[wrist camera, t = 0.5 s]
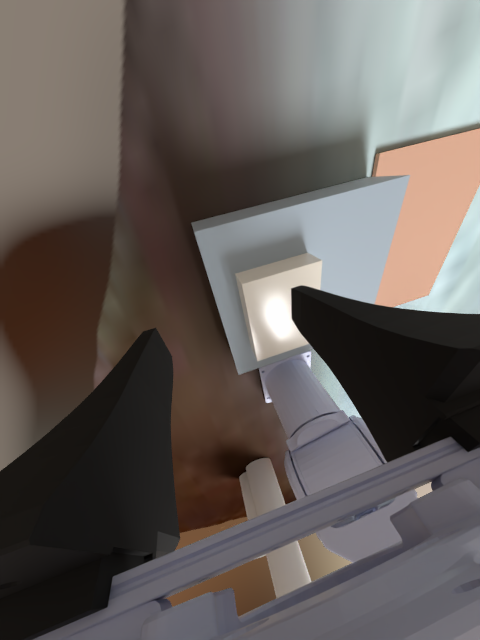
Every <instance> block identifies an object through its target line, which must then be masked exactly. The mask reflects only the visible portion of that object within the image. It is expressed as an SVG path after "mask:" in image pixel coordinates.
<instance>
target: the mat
mask: <svg viewBox="0 0 480 640" xmlns="http://www.w3.org/2000/svg"><path fill="white" fill-rule="evenodd" d="M399 175H410V178H409V181H408V185H407V189H406V192H405V196H404V199H403V203H402V207H401V210H400V214H399V217H398V221H397V225H396V228H395V232H394V236H393V239H392V243H391V246H390V250H389V254H388V257H387V261H386V264H385V268H384V272H383V275H382V279H381V282H380V286H379V290H378V293H377V297H376V300H375V304H376V305H382V306H387V307H394V306H397V305H400V304H403V303H406V302H409V301H412V300H415V299H418V298H421V297H424V296H427V295H429V293H430V291H431V288H432V286H433V284H434V282H435V280H436V278H437V276H438V273H439V271H440V269H441V267H442V265H443V263H444V260H445V258H446V256H447V254H448V252H449V250H450V247H451V245H452V243H453V241H454V239H455V237H456V235H457V232H458V230H459V228H460V226H461V224H462V222H463V219H464V217H465V215H466V213H467V211H468V209H469V206H470V204H471V202H472V200H473V198H474V196H475V194H476V191H477V189H478V187H479V185H480V128H479V129H475V130H471V131H467V132H463V133H459V134H454V135H450V136H446V137H442V138H438V139H434V140H430V141H426V142H422V143H418V144H414V145H410V146H406V147H402V148H398V149H394V150H390V151H386V152H382V153H378V154H376V157H375V163H374V168H373V174H372V177H379V176H399Z"/></svg>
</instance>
